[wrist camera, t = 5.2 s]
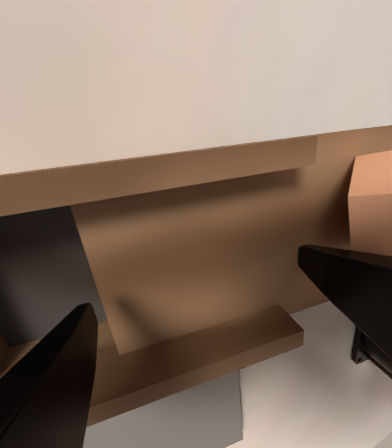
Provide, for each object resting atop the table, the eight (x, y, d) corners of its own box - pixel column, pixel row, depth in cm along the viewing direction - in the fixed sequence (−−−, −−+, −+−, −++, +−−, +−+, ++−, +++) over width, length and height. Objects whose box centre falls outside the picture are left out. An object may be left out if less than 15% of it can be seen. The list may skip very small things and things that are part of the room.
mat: (238, 426, 20) (243, 439, 19) (105, 485, 17) (103, 503, 17) (230, 328, 16) (235, 339, 15) (55, 386, 13) (50, 403, 12)
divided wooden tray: (341, 262, 17) (416, 301, 13) (-22, 369, 12) (-122, 506, 7) (358, 129, 14) (470, 116, 9) (-139, 192, 8) (-466, 236, 4)
